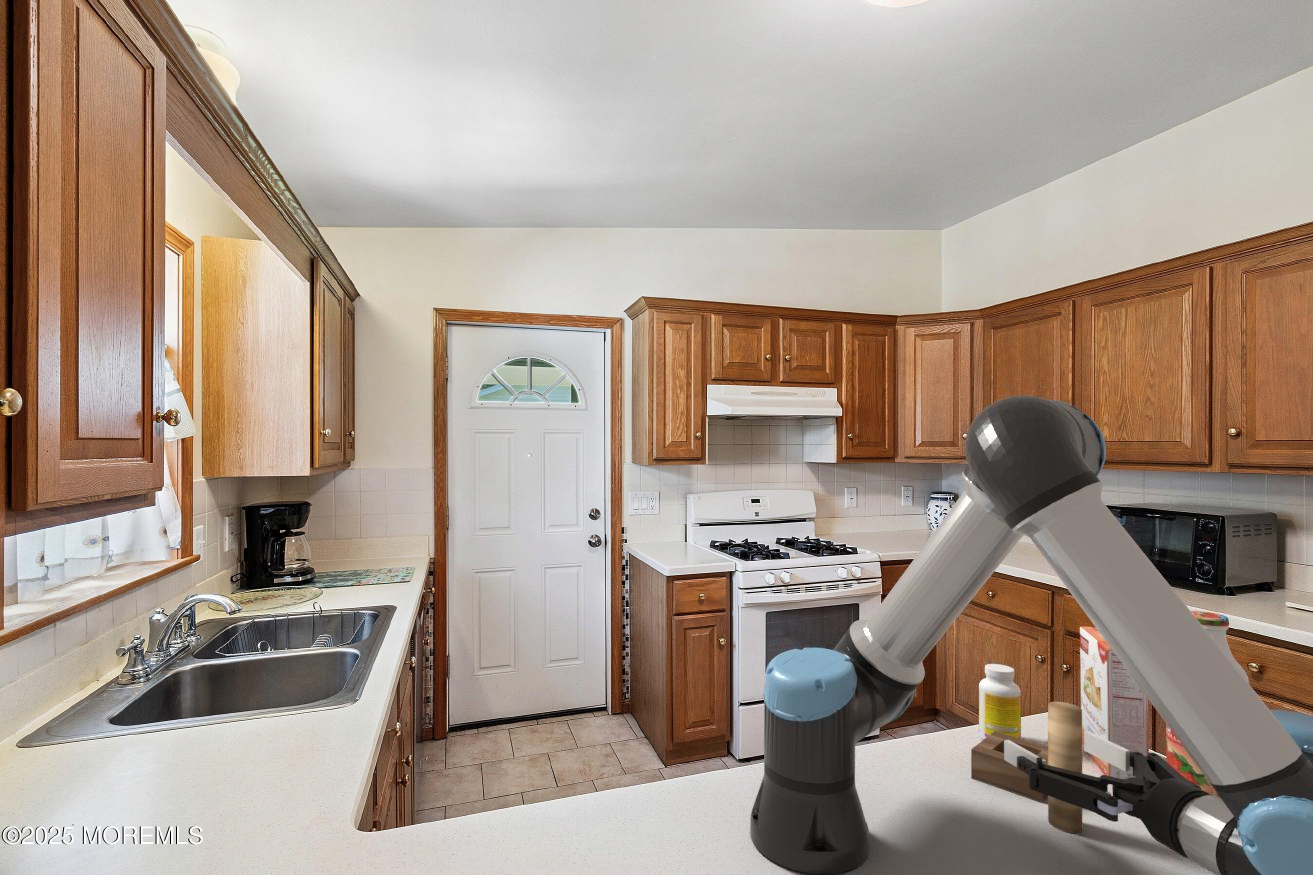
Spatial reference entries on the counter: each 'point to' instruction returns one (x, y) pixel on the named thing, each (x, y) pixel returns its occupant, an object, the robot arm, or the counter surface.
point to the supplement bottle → (999, 702)
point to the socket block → (1004, 765)
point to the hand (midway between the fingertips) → (1046, 744)
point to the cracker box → (1111, 701)
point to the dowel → (1065, 760)
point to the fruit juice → (1174, 748)
